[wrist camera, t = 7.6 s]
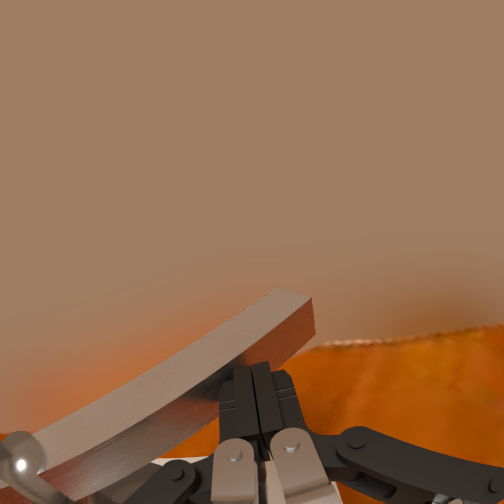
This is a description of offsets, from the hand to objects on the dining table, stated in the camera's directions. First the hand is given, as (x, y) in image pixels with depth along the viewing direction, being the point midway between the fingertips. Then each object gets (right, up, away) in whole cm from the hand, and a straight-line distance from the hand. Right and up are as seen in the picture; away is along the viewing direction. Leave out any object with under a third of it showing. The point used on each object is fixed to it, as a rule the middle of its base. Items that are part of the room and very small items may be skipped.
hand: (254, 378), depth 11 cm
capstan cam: (-3, -11, +1) cm, 12 cm away
